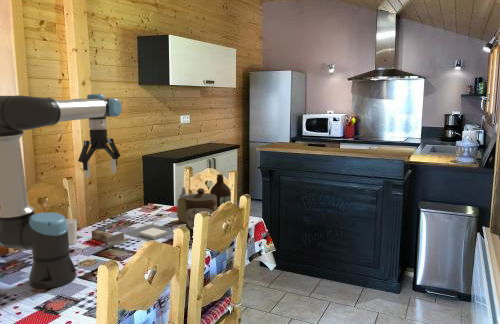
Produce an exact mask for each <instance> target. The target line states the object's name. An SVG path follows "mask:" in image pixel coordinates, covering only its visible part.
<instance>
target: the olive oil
mask: <svg viewBox="0 0 500 324" xmlns="http://www.w3.org/2000/svg"><path fill="white" fill-rule="evenodd" d="M209 194H214V195H216V196H217V209H218V207H219V206H220V205H221V204H222V203H225V202H227V201H230V202H231V203H232V192H231V189H230V187H229V186H228V184H226V183H225V181H224V174H222V173H219V174H216V183H214V185H213V186H212V187H211V189H210V191H209Z"/></svg>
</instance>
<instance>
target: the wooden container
mask: <svg viewBox="0 0 500 324" xmlns="http://www.w3.org/2000/svg"><path fill="white" fill-rule="evenodd" d="M188 195H189V196H186V197H185V203H186V223H185V225H186V226H185V227H187V228H188V229H189V230H190V237H191V238H190V239H192V236H193V227H194V217H195V214H197V213H199V212H201V211H207V212H209V213H210V215H211V214H212V213H213V212H214V211H216V210H217V196H216V195H214V194H210V192H209V193H206V192H205V189H204V188H198V189H197V190H196V193H193V194H188Z"/></svg>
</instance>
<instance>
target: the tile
mask: <svg viewBox="0 0 500 324" xmlns="http://www.w3.org/2000/svg"><path fill="white" fill-rule="evenodd" d="M139 234H140V236H144V237H147V238H151V239H156V238H159V237H162V236H165V235H167V231H163V230H159V229H156V228H151V229H148V230H145V231H141V232H139ZM165 237H166V236H165ZM162 238H163V237H162ZM159 239H160V238H159ZM156 240H157V239H156Z"/></svg>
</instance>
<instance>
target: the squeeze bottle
mask: <svg viewBox="0 0 500 324" xmlns="http://www.w3.org/2000/svg"><path fill="white" fill-rule="evenodd" d="M186 190H187V189H186V187H185V186H184V187H183V186H182V188H181V193H179V195H178V196H179V198H178V199H177V204H176V205H177V207H176V217H177V220H178V222H179V223H180V224H181V223H182V224H186V203H185V197H186V196H189V195H190V194H189V193H187V191H186Z"/></svg>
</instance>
